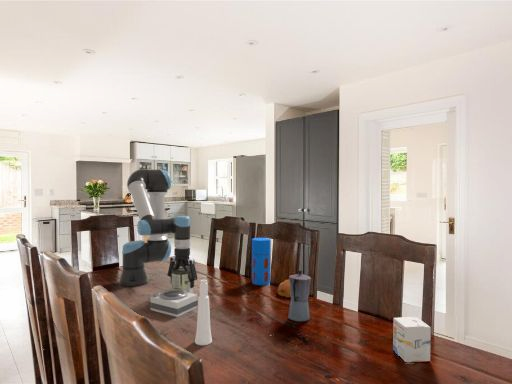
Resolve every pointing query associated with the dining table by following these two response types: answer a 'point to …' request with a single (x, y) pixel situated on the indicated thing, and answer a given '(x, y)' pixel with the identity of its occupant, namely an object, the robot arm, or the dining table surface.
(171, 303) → the kitchen scale
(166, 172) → the robot arm
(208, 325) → the cosmetic bottle
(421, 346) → the ink box
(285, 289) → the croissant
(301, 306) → the moka pot
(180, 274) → the coffee can
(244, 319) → the dining table surface
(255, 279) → the thermos
